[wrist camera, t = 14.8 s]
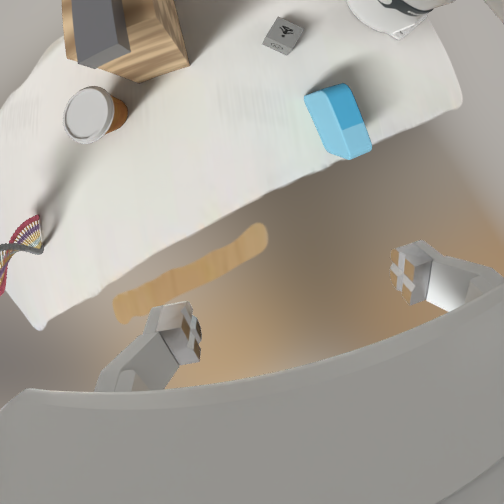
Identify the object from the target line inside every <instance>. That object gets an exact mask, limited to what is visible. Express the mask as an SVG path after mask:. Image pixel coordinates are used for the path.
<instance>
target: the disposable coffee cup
mask: <svg viewBox="0 0 504 504" xmlns="http://www.w3.org/2000/svg"><path fill="white" fill-rule="evenodd" d="M127 115H128V110H127V107H126V105H125V103H124V102H123V101H121V100H119V99H117V98H115V97H113V96H111V95H110V94H109V93H108V92H107V91H106V90H105V89H103V88H101V87H98V86H90V87H86V88H84V89H82V90H80V91H79V92H77V93H76V94H75V95H73V96H72V97H71V99H70V100H69V101H68V103H67V105H66V107H65V110H64V114H63V125H64V129H65V131H66V133H67V134H68V136H69V137H71V138H72V139H73V140H74V141H76V142H78V143H81V144H89V143H93V142H95V141H97V140H98V139H100V138H101V137H102V136H104V135H105V134H107V133H109V132H112V131H114V130H116V129H118V128H120V127H121V126H122V125H123V124H124V123H125V121H126V119H127Z"/></svg>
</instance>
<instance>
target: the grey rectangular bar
mask: <svg viewBox="0 0 504 504" xmlns="http://www.w3.org/2000/svg"><path fill="white" fill-rule="evenodd" d="M71 2H72V18H73V29H74V38H75V46H76V54H77V60H78V64H81V65H84V66H87V67H90V68H94V69H96V68H98V67H100V66H102V65H104V64H106V63H108V62H110V61H112V60H114V59H116V58H119V57H121V56H123V55H126V54H128V53H130V52H131V49H130V44H129V39H128V33H127V28H126V22H125V16H124V10H123V4H122V0H71Z"/></svg>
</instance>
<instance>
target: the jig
mask: <svg viewBox="0 0 504 504" xmlns="http://www.w3.org/2000/svg"><path fill="white" fill-rule="evenodd" d="M122 4H123V10H124V16H125V22H126V28H127V33H128V39H129V44H130V49H131V52H130V53H128V54H126V55H123V56H121V57H119V58H116V59H114V60H112V61H110V62H108V63H106V64H104V65H102V66H100V67H98V68H99V69H102V70H105V71H108V72H110V73H113V74H116V75H119V76H121V77H124V78H127V79H129V80H132V81H134V82H137V83H141V82H144V81H146V80H149V79H152V78H154V77H157V76H160V75H163V74H166V73H169V72H172V71H175V70H178V69H181V68H185V67H188V66H190V64H189V60H188V56H187V52H186V48H185V44H184V40H183V36H182V32H181V28H180V24H179V19H178V15H177V11H176V7H175V3H174V0H122ZM62 16H63V29H64V40H65V49H66V56H67V59H71V60H74V61H77V62H78V60H77V54H76V46H75V38H74V29H73V18H72V2H71V0H62Z"/></svg>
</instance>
